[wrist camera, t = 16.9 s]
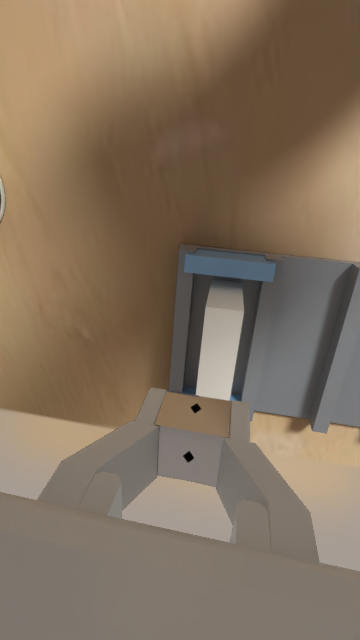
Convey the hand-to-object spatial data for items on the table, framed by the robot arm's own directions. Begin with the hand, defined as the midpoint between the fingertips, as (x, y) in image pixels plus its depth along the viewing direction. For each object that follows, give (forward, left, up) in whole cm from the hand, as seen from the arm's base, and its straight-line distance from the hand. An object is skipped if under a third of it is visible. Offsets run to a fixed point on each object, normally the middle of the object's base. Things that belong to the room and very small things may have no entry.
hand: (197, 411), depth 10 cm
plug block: (+4, +7, -24) cm, 26 cm away
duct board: (-2, +12, -25) cm, 28 cm away
